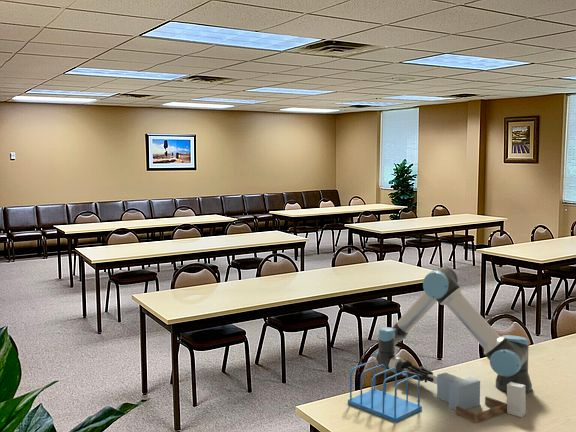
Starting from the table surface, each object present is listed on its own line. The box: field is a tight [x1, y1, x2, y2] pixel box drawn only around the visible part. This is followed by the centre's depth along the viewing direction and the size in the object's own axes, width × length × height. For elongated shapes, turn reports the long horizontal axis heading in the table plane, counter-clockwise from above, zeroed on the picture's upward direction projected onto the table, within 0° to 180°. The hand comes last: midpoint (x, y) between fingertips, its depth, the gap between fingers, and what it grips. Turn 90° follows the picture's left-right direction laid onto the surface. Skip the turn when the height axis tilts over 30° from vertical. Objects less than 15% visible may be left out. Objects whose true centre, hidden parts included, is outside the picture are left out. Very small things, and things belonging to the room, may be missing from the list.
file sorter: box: [347, 360, 423, 423], centre depth 239 cm, size 25×17×15 cm
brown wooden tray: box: [455, 395, 507, 424], centre depth 232 cm, size 19×10×3 cm, turn 124°
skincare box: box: [506, 382, 527, 418], centre depth 230 cm, size 6×4×12 cm
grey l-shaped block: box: [436, 371, 481, 411], centre depth 243 cm, size 13×15×10 cm
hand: (440, 381), depth 249 cm, fingers closed
